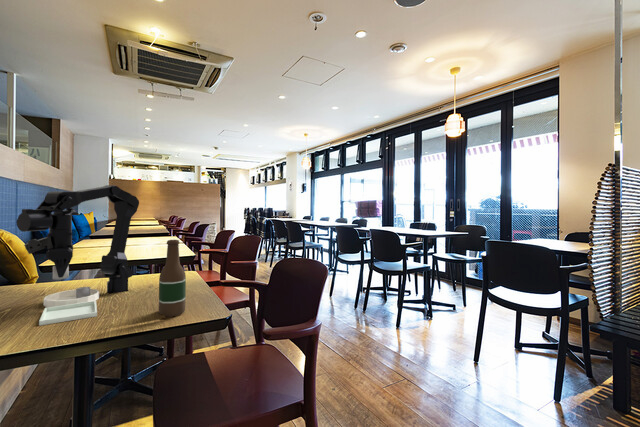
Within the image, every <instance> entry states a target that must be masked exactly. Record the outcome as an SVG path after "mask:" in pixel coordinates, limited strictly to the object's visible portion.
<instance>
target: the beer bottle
mask: <svg viewBox="0 0 640 427" xmlns="http://www.w3.org/2000/svg"><path fill="white" fill-rule="evenodd" d="M179 244H180V240H179V239H169V240H167V241H166V245H167V246H166V247H167V249H166V258H165V259H166V260H165V265H164V266H163V267H162V269H161V270H160V273H159V276H158V277H159V278H158V279H159V281H158V313H159V314H160V315H162V316H164V317H165V318H174V317H173V316H175V317H177V316H176V315H179V316H181V315H180V314H182V313H183V312H184V311H186V293H187V292H186V288H187V285H186V284H187V282H186V281H187V280H186V279H187V278H186V271H185V268H184V267H183V266H182V265H181V262H180V249H179ZM184 313H185V312H184ZM184 313H183V314H184ZM183 314H182V315H183Z"/></svg>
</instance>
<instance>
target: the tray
mask: <svg viewBox="0 0 640 427" xmlns="http://www.w3.org/2000/svg"><path fill="white" fill-rule="evenodd" d="M95 317H98V306H97V300H96V301H91V302H84V303H77V304H69V305H62V306H55V307H45V308H44V309H43V311H42V314H41V316H40V318H39V321H38V325H39V326H41V327H42V326H46V325H52V324H58V323H64V322H71V321H76V320H83V319H89V318H95Z"/></svg>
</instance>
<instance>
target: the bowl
mask: <svg viewBox="0 0 640 427" xmlns="http://www.w3.org/2000/svg"><path fill="white" fill-rule="evenodd" d="M99 299H100V290H98V289H96V288H95V289H94V288H90V296H87V297H82V298H78V299H76V289H69V290H63V291H58V292H55V293H50V294H48V295H46V296H44V297H43V307H45V308H48V307H55V306H62V305H69V304H77V303H84V302H91V301H96V302H97V301H98V300H99Z"/></svg>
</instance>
